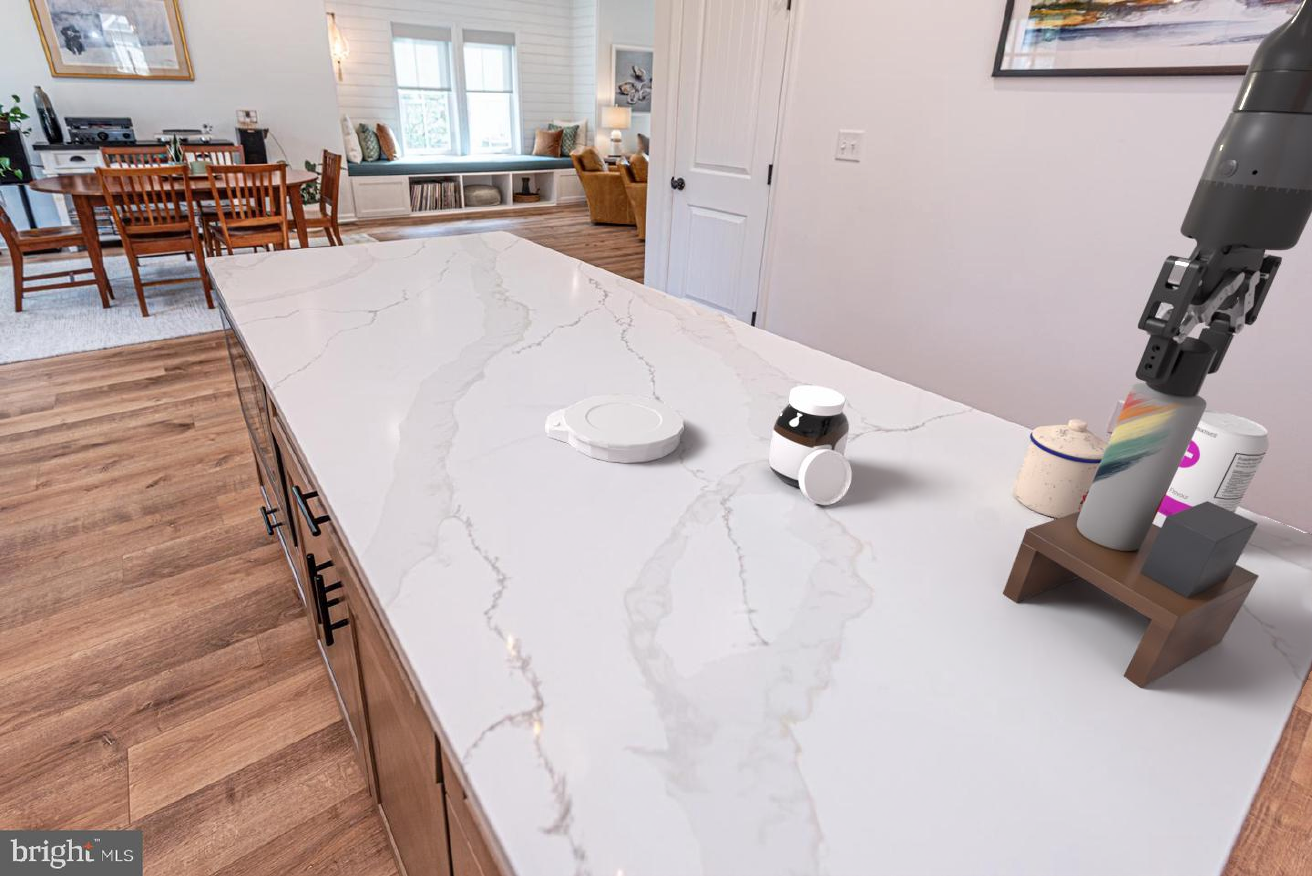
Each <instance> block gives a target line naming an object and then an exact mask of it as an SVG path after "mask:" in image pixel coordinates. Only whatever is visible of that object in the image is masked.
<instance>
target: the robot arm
mask: <svg viewBox="0 0 1312 876" xmlns="http://www.w3.org/2000/svg"><path fill="white" fill-rule="evenodd" d="M1230 111H1231V112H1230V113H1229V114H1228V117H1227V119H1226V121H1225V123H1224V125H1223V127H1222V128H1221V130H1220V132H1219V134H1218V135H1217V137H1216V139H1215V141H1214V142H1213V145H1212V148H1211V149H1210V153H1209V155H1208V157H1207V160H1206V163H1205V165H1204V168H1203V170H1202V173H1201V176H1200V178H1199V181H1198V183H1197V186H1196V187H1195V188H1196V189H1195V191H1194V193H1193V195H1192V198H1191V201H1190V203H1189V205H1188V208H1187V211H1186V214H1185V216H1184V218H1183V221H1182V224H1181V226H1180V233H1181V235H1182V236H1184V237H1185V238H1188V239H1191V240H1195V242H1196V246H1195V247H1194V248H1193V251H1192V252H1191V254H1190V256H1189V257H1188V258H1187V257H1182V256H1178V255H1177V256H1176V255H1170V254H1169V255H1168V256H1167V257H1166V259H1165V260H1164V261H1163V264H1162V266H1161V268H1160V271H1159V274H1158V276H1157V278H1156V280H1155V283H1154V286H1153V288H1152V290H1151V293H1150V294H1149V297H1148V300H1147V302H1146V304H1145V306H1144V309H1143V311H1142V314H1141V315H1140V318H1139V321H1138V323H1137V329H1138V330H1141V331H1145V332H1146V334H1147V336H1149V338H1148V341H1147V343H1146V346H1145V349H1144V351H1143V353H1142V356H1141V359H1140V361H1139V363H1138V366H1137V368H1136V370H1135V378H1137V380H1139V381H1143V382H1144V383H1146V382H1148V383H1151V384H1154V385H1160V384H1164V383H1166V382H1167V380H1168V378H1169V375H1170V373H1171V371H1172V368H1173V366H1174V363H1175V361H1176V359H1177V356H1178V354H1179V352H1180V349H1181V347H1182V345H1183V343H1182V342H1183V341H1184V340H1185V338H1186V337H1187V336H1188V337H1189V335H1190V334H1191V333H1192V331H1193V330H1194V329H1195V327H1196V326H1197V325H1198V324H1203V323H1204V326H1205V327H1203V328H1202V329H1201V330H1200V333H1199V335H1198V337H1197V339H1199V340H1202V341H1204V342H1206V343H1207V344H1209V345H1210V346H1213V347H1215V348H1217V353H1216V355H1215V357H1214V360H1213V362H1212V364H1211V366H1210V369H1209V371H1208V373H1207V375H1211V374H1215V373H1217V372H1219V370H1220V367H1221V365H1222V363H1223V361H1224V359H1225V356H1226V354H1227V352H1228V351H1229V347H1230V346H1231V343H1232V341H1233V339H1234V337H1235V334H1236V335H1238V334H1239V333H1240V332H1241V331H1242V330H1243V329H1244V328H1245V325H1247V326H1252V325H1253V324H1254V323H1255V322H1256V321H1257V319H1258V316H1259V313H1260V312H1261V309H1262V307H1263V305H1264V303H1265V300H1266V298H1267V296H1268V294H1269V291H1270V289H1271V287H1272V285H1273V282H1274V280H1275V277H1276V276H1277V273H1278V271H1279V269H1280V267H1281V265H1282V261H1283V257H1282V256H1277V255H1274V254H1273V255H1272V254H1269V253H1266V251H1288V250H1291V249H1293V248H1294V247H1296V246H1297V244H1298V242H1299V240H1300V238H1301V237H1302V234H1303V233H1304V230H1305V228H1306V226H1307V223H1308V221H1309V219H1310V217H1311V216H1312V0H1302V1H1301V4H1300V5H1299V7H1298V8H1297V10H1296V11H1295V12H1294V14H1293V15H1292V16H1291V17H1289V18H1288V19H1287V20H1286V21H1285V22H1284V23H1282V24H1280V25H1279V26H1277V27H1276V28H1274V29H1272V30H1271V31H1270V32H1269V33H1268V34H1266V35H1265V36H1264V38H1263V39H1262V40H1261V42H1260V44H1259V45H1258V47H1257V49H1255V52H1254V54H1253V56H1252V58H1251V60H1250V61H1249V65H1248V67H1247V69H1246V73H1245V74H1244V77H1243V79H1242V82H1241V84H1240V87H1239V89H1238V91H1237V95H1236V97H1235V99H1234V101H1233V105H1232V107H1231V110H1230ZM1160 307H1161V309H1160ZM1159 309H1160V311H1159ZM1158 311H1159V313H1158Z"/></svg>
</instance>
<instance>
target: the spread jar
mask: <svg viewBox="0 0 1312 876" xmlns="http://www.w3.org/2000/svg"><path fill="white" fill-rule="evenodd" d="M845 403H846V398H845V396H844V395H843V394H842V393H841V392H838V391H837V390H834V389H832V388H829V387H825V386H820V385H810V384H808V385H807V384H806V385H805V384H803V385H798V386H795V387H792V389H791V390H790V393H789V398H788V404H787V405H786V406H785V407H784V408H783V409H782V411H781V412H780V413H779V415H778V416H777V418H776V420H775V422H774V425H773V429H772V432H771V433H772V434H771V438H770V445H769V451H768V466H769V468H770V470H771V472H772V473H773V474H774V475H775V476H777V477H778V478H779V479H780V480H781V481H783V482H784V483H786V484H787V485H790V486H793V487H795V488H796V487H797V488H799V489H800V491H801V493H802V494H803V496H804V497H805V498H806V499H807V500H809V501H811V502H813V503H815V504H818V505H821V506H829V505H833V504H836V503H838V502H839V501H840V500H842V499H843V498H844V496H845V495H846V494H847V493H848V491H849V489H850V486H851V483H852V479H853V478H852V477H853V476H852V475H853V471H852V465H851V463H850V462H849V460H848V457H846V456H845V450H846V445H847V441H848V436H849V429H850V423H849V419H848V417H847V416H846V414H845V413H844V407H845Z"/></svg>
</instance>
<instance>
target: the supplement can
mask: <svg viewBox="0 0 1312 876" xmlns="http://www.w3.org/2000/svg"><path fill="white" fill-rule="evenodd" d="M1268 433H1269V430H1268V429H1267V428H1266V427H1265V426H1263V425H1261V424H1260V423H1258V422H1256V421H1253V420H1252V419H1249V418H1246V417H1242V416H1239V415H1236V414H1232V413H1228V412H1224V411H1218V410H1211V409H1210V410H1209V409H1205V411H1204V413H1203V415H1202V417H1201V420H1200V422H1199V424H1198V426H1197V428H1196V431H1195V433H1194V435H1193V437H1192V439H1191V441H1190V444H1189V446H1188V448H1187V450H1186V452H1185V454H1184V457H1183V459H1182V461H1181V463H1180V465H1179V467H1178V469H1177V472H1176V474H1175V476H1174V478H1173V480H1172V482H1171V485H1170V487H1169V489H1168V491H1167V493H1166V495H1165V497H1164V500H1163V502H1162V504H1161V506H1160V508H1159V510H1158V513H1157V515H1156V517H1155V519H1154V521H1153V524H1155V525H1157V526H1159V527H1162V525H1163V523H1164V521H1165V519H1166V517H1167V516H1170V515H1172V514H1175V513H1178V512H1180V511H1183V510H1185V509H1188V508H1191V507H1193V506H1196V505H1198V504H1201V503H1204V502H1206V501H1208V502H1211V503H1213V504H1215V505H1218V506H1220V507H1222V508H1224V509H1227V510H1229V511H1231V512H1233V513H1236V511H1237V509H1238V507H1239V505H1240V503H1241V502H1242V499H1243V498H1244V496H1245V493H1246V491H1247V490H1248V488H1249V485H1250V484H1251V482H1252V480H1253V479H1254V476H1255V474H1256V472H1257V471H1258V469H1259V467H1260V465H1261V463H1262V461H1263V460H1264V457H1265V456H1266V453H1267V452H1268V449H1269V446H1270V443H1269V439H1268Z"/></svg>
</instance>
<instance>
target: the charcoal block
mask: <svg viewBox="0 0 1312 876" xmlns="http://www.w3.org/2000/svg"><path fill="white" fill-rule="evenodd" d="M1257 526H1258V522H1257V521H1254V520H1251V519H1249V518H1247V517H1245V516H1242V515H1240V514H1238V513H1236V512H1235V513H1233V512H1231V511H1229V510H1227V509H1224V508H1222V507H1220V506H1218V505H1215V504H1213V503H1211V502H1208V501H1206V502H1204V503H1201V504H1198V505H1196V506H1193V507H1191V508H1188V509H1185V510H1183V511H1180V512H1178V513H1175V514H1172V515H1170V516H1167V517H1166V519H1165V521H1164V523H1163V525H1162V527H1161V529H1160V531H1159V534H1158V536H1157V538H1156V540H1155V542H1154V544H1153V546H1152V548H1151V551H1150V553H1149V555H1148V557H1147V559H1146V561H1145V563H1144V565H1143V568H1142V570H1141V573H1142V574H1144V575H1146V576H1148V577H1149V578H1151V579H1153V580H1155V581H1157V582H1158V583H1160V584H1162V585H1164V586H1166V587H1168V588H1169V589H1171V590H1173V591H1175V592H1177V593H1178V594H1180V595H1182V596H1184V597H1186V598H1190V597H1192V596H1194V595H1196V594H1198V593H1200V592H1202V591H1204V590H1206V589H1208V588H1210V587H1212V586H1214V585H1216V584H1218V583H1220V582H1222V581H1224V580H1226V579H1228V578H1229V576H1230V574H1231V572H1232V570H1233V568H1234V567H1235V565H1237V563H1238V562H1239V559H1240V557H1241V555H1242V553H1243V552H1244V550H1245V548H1246V546H1247V545H1248V543H1249V540H1250V539H1251V537H1252V535H1253V534H1254V532H1255V530H1256V528H1257Z"/></svg>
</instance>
